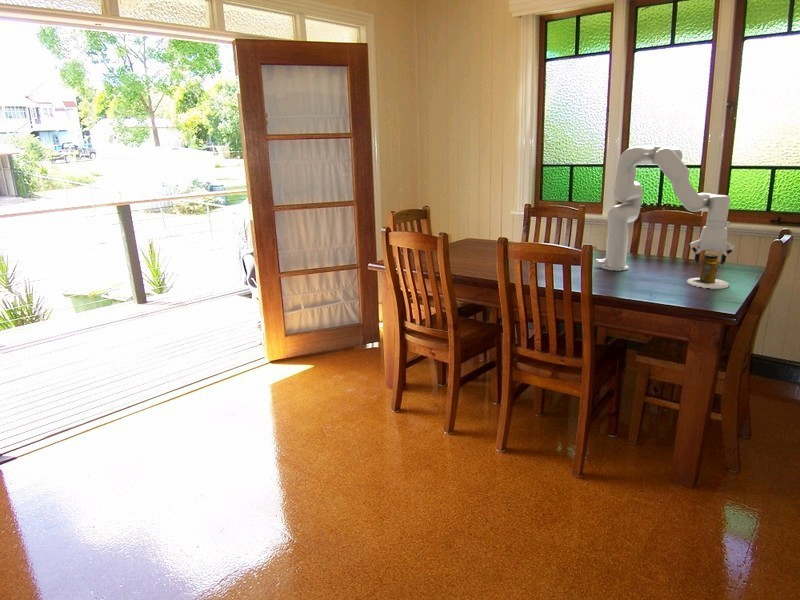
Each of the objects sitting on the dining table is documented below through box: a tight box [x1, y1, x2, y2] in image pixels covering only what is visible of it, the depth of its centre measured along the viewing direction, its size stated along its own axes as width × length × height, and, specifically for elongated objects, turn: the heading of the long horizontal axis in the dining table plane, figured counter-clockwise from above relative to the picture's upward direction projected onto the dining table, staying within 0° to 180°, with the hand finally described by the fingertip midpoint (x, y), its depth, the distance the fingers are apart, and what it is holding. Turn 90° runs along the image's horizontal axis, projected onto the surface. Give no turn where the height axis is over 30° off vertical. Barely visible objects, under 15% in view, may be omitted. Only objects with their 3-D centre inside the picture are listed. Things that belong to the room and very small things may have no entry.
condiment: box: [692, 253, 719, 285], centre depth 237 cm, size 7×8×12 cm
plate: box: [686, 277, 730, 290], centre depth 239 cm, size 16×16×1 cm
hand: (709, 263), depth 237 cm, fingers open, 9 cm apart
